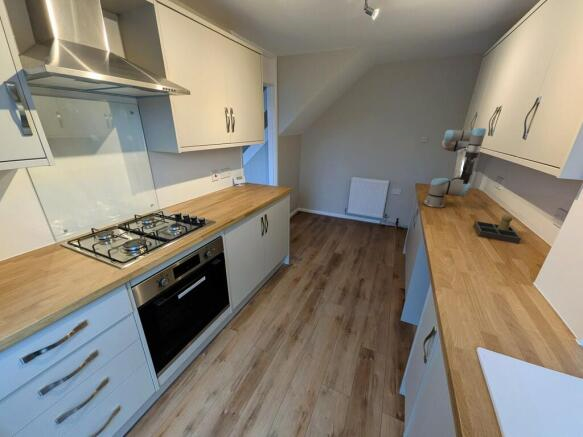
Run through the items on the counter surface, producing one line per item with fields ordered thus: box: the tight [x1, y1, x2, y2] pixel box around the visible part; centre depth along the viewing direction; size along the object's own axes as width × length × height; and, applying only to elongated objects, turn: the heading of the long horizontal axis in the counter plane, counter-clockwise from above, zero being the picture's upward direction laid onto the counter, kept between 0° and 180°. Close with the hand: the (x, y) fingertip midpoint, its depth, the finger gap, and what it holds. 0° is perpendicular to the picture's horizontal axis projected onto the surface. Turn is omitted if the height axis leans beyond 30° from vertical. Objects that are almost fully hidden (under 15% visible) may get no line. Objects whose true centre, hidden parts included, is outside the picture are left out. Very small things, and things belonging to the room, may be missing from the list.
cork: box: [497, 214, 514, 231], centre depth 151 cm, size 6×6×11 cm
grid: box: [473, 220, 522, 245], centre depth 151 cm, size 19×19×4 cm
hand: (463, 181), depth 172 cm, fingers open, 13 cm apart
